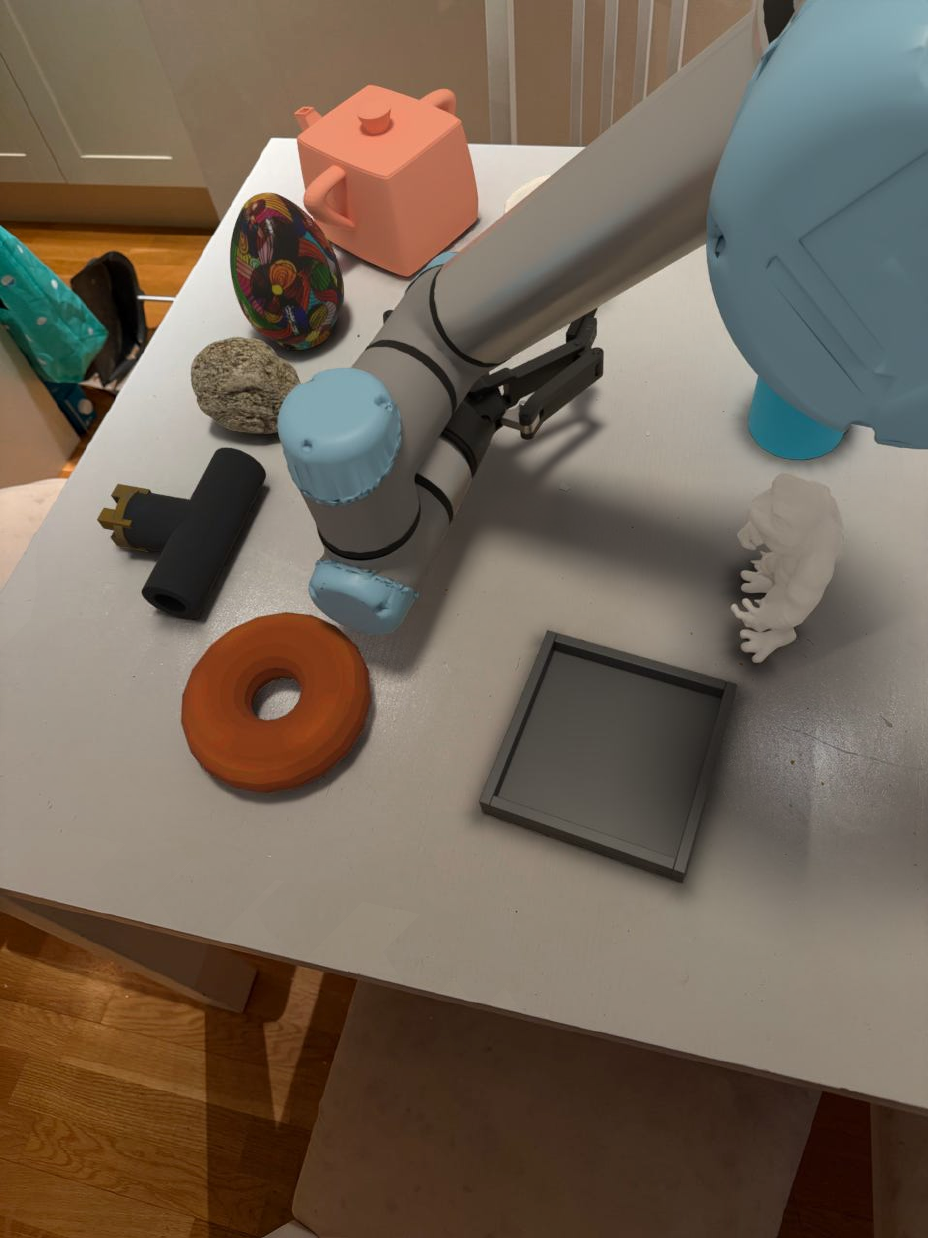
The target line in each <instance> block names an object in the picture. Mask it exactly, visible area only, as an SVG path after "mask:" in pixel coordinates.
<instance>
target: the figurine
mask: <svg viewBox="0 0 928 1238" xmlns="http://www.w3.org/2000/svg"><path fill="white" fill-rule="evenodd" d="M747 512H748V514H747V515H748V519H749V521H748V522H747V523H745V525H744V526H743V528H742V529H740V530H739V532H738V533H737V538H738V540H739V544H740V545H741V546H742V547H743V548H744V549H748V550H751V551H754V550H756V549H757V546H761V545H763V544H764V545H765V547H767V548H768V550H770V551H769V552H764V551H762V550H760V551H759V552H760V555H761V556H762V557H761V558H760V559H756V560H751V561H750V562H751V563H752V564H753V566H754V569H755V570H756V571H751V570H747V569H746V570H745V569H744V570H742V571H741V572H740V577H741V578H742V580H744V581H745V583H743V584H741V587H740V590H741V591H742V592H743V593H747V594H757V593H758V594H759V593H763V594H765V595H764V597H762V598H761V599H754V602H755V603H756V604H757V605H759V607H755V606H754V605H753V603H752V602H751V600H750V599H748V598H747V597H746V598H742V601H741V603H742V605H743V607H745V608H746V609H747V611H743V610H740V608H739V606H738V605H737V604H736V603H733V604H732V605H731V606H730V611H731V612H732V613H733V614H734V616H735V618H737V619H740V620H741V621H742V623H744V626H745V627H746V628H751V629H753V630H754V631H753V630H750V629H741V630H740V632H739V636H740V638H741V639H742V640H746V639H748V640H749V641H743V642H742V643H741V644H740V649H741V651H742V652H744V653H753V654H754V655H752V657H751V661H752V662H753V663H754V664H760V663H762V662H764V660H766V659H767V658H768V656H769V655H770V654H771V653H773V652H774V651H775V650H776V649H779V648H780V647H785V646H787V645H788V644H791V643H793V642H794V641H795V640H796V639H797V634H796V631H795V629H794V628H795V627H796V626H798V625H801V624H803V623H804V621H805V620H806V619H807V618H808V616H809V615H810V614H811V613H812V612H813V611H814V610H815V608H816V607H817V606H818V604H819V603H820V601H821V599H822V598H823V596H824V593H825V590H826V588H827V586H828V584H829V583H831V580H832V578H833V576H834V572H835V565H836V564H837V563H838V561H839V560H840V558H841V556H842V555H843V554H842V553H843V551H844V547H845V545H844V542H845V537H844V536H845V535H844V533H843V532H844V531H843V529H844V526H843V518H842V514H841V511H840V509H839V506H838V502H837V500H836V498H835V497H834V496H833V495H832V492H831V489H830V488H829V487H828V486H827V485H826V484H823V483H821V482H819V481H815V480H807V479H804V478H802V477H799V476H796V475H795V474H792V473H790V472H786V471H785V472H780V473H779V474H777V476H776V477H774V478H773V480H772V482H771V487H770V488H768V489H767V490H765V491H763V492H762V493H761V494H759V495H758V496H757V497H756V498H754V500H752V502H751V503H750V504H749V506H748V509H747ZM767 630H768V631H767Z"/></svg>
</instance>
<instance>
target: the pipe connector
mask: <svg viewBox="0 0 928 1238" xmlns="http://www.w3.org/2000/svg"><path fill="white" fill-rule="evenodd" d="M266 478H267V472H266V470H265V467H264V466H263V465H262V464H261V462H260V461H259V460H258V459H256V458H255V457H253V456H252V455H251V454H249V453H247V452H245V451H243V450H240V449H237V448H233V447H229V446H227V447H226V446H225V447H220V448H217V449H216V450H215V451H214V453H213V455H212V456H211V458H210V460H209V463H208V464H207V465H206V468H205V470H204V471H203V473H202V475H201V478H200V479H199V481H198V483H197V485H196V486H195V489H194V491H193V493H192V494H191V496H190V498H189V499H188V498H182V497H177V496H172V495H166V494H162V493H161V494H160V493H156V492H155V493H154V492H152V490H151V489H150V488H144V487H139V486H134V485H127V484H121V483H117V484H116V486H115V488H114V490H113V491H112V493H111V494H110V497H111V498H112V499H113V501H114V502H115V503H116V506H115V508H110V507H109V508H108V507H103V508H102V510H101V511H100V513H99V515H98V517H97V518H96V521H97V522H98V523H99V525H100V526H101V527H102V529H104V530H108V531H113V532H112V534H111V536H110V540H111V541H112V542H113V543H114V544H115V546H116V547H119V548H125V549H129V550H135V551H139V552H146V553H149V552H150V551H154V552H159V553H160V555H159V556H158V558H157V560H156V562H155V564H154V566H153V568H152V569H151V571H150V574H149V576H148V578H147V579H146V581H145V583H144V585H143V586H142V588H141V592H140V593H141V595H142V597H143V599H144V600H145V601H146V603H148V604H150V606H152V607H153V608H155V609H157V610H158V611H160V612H163V613H164V614H167V615H169V616H172V617H175V618H178V619H183V620H195V619H198V618H199V616H200V615H201V612H202V610H203V608H204V607H205V604H206V603H207V601H208V598H209V596H210V594H211V592H212V589H213V587H214V585H215V583H216V581H217V579H218V577H219V575H220V573H221V571H222V570H223V567H224V565H225V563H226V561H227V559H228V557H229V555H230V553H231V551H232V549H233V547H234V544H235V543H236V540H237V538H238V537H239V534H240V532H241V530H242V528H243V526H244V524H245V522H246V520H247V518H248V516H249V513H250V511H251V509H252V507H253V505H254V503H255V501H256V499H257V498H258V496H259V493H260V491H261V489H262V486H263V485H264V483H265V481H266Z"/></svg>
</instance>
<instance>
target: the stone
mask: <svg viewBox="0 0 928 1238" xmlns="http://www.w3.org/2000/svg"><path fill="white" fill-rule="evenodd" d="M190 383H191V384H190V385H191V387H192V391H193V393H194V395H195V397H196V403H197V405H198V408H199V409H200V410H201V412H202V413H203V414H204V415H206V416H207V417H210V418H211V419H212V420H213V421H214V422H215V423H217V424H219V425H220V426H223V427H225V428H226V429H227V430H230V431H234V432H240V433H247V434H256V435H257V434H260V435H261V434H264V435H267V434H268V435H271V434H274V433H278V425H277V423H278V415H279V411H280V408H281V406H282V403H283V402H284V400H285V398H286V396H287V395H288V394H289V393H290V391H291V390H292V389H293V388H294V387H295V386H296V385H298V384H300V383H301V381H300V378H299V376H298V373H297V369H296V368H295V367H294V366H293V364H291V363H290V362H288V361H287V360H286V359H284V358H282V357H279V356H278V355H277V353H276V352H275V350H274V349H273V348H272V347H271V346H269V344H268V343H266V342H265V341H264V340H262V339H259V338H258V339H257V338H255V337H254V338H249V337H240V336H238V337H228V338H224V339H220V340H216V341H214V342H211V343H209V344H207V345H206V346H205V347H204V348H203V349H201V351H199V352H198V354H197V355H196V356H195V357H194V359H193V360H192V362H191V365H190Z"/></svg>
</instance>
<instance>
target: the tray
mask: <svg viewBox="0 0 928 1238" xmlns="http://www.w3.org/2000/svg"><path fill="white" fill-rule="evenodd" d="M737 689H738V683H736V682H733V681H730V680H728V681H727V680H726V679H722V678H718V677H714V676H711V675H708V674H705V673H701V672H697V671H694V670H690V669H686V668H683V667H680V666H676V665H672V664H669V663H666V662H663V661H662V662H661V661H659V660H655V659H651V658H648V657H644V656H642V655H641V656H640V655H637V654H635V653H634V654H633V653H631V652H626V651H624V650H623V651H622V650H618V649H616V648H612V647H608V646H606V645H602V644H598V643H594V642H591V641H587V640H584V639H580V638H577V637H572V636H569V635H567V634H564V633H558V632H556V631H552V630H549V629H548V630H546V633H545V635H544V637H543V640H542V643H541V645H540V648H539V651H538V653H537V656H536V658H535V661H534V663H533V666H532V668H531V671H530V673H529V676H528V678H527V680H526V683H525V685H524V688H523V690H522V693H521V695H520V698H519V700H518V703H517V705H516V708H515V710H514V713H513V715H512V718H511V720H510V723H509V725H508V728H507V731H506V733H505V735H504V738H503V740H502V743H501V746H500V747H499V750H498V752H497V755H496V758H495V761H494V763H493V765H492V767H491V770H490V773H489V775H488V777H487V780H486V782H485V785H484V788H483V789H482V792H481V794H480V795H481V796H480V798H479V799H478V802H479V806H480V809H481V812H482V813H485V814H487V815H490V816H493V817H496V818H499V819H500V820H504V821H507V822H509V823H513V824H516V825H518V826H521V827H524V828H527V829H530V830H532V831H535V832H538V833H541V834H543V835H547V836H550V837H552V838H555V839H558V840H560V841H564V842H566V843H569V844H572V845H574V846H577V847H581V848H584V849H586V850H589V851H592V852H595V853H597V854H600V855H603V856H606V857H608V858H612V859H615V860H618V861H620V862H623V863H626V864H628V865H631V866H634V867H637V868H641V869H643V870H646V871H649V872H651V873H654V874H657V875H659V876H663V877H664V878H665V877H666V878H669V879H671V880H674V881H676V882H680V883H682V882H683V881H684V878H685V875H686V873H687V868H688V865H689V860H690V857H691V853H692V850H693V846H694V843H695V839H696V837H697V832H698V829H699V826H700V821H701V819H702V814H703V811H704V807H705V804H706V800H707V796H708V794H709V793H708V792H709V789H710V786H711V782H712V779H713V775H714V771H715V768H716V765H717V760H718V757H719V754H720V750H721V746H722V743H723V739H724V735H725V732H726V728H727V725H728V721H729V718H730V714H731V710H732V707H733V703H734V700H735V697H736V693H737Z"/></svg>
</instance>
